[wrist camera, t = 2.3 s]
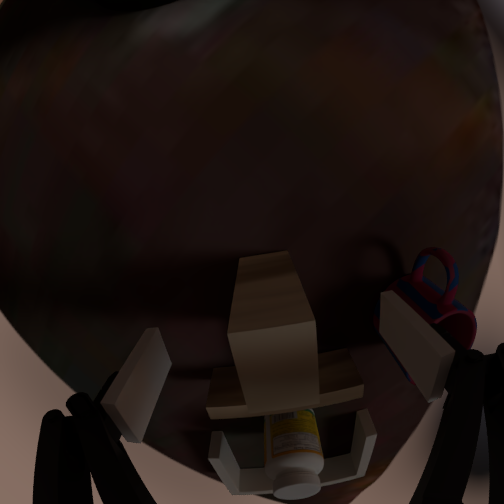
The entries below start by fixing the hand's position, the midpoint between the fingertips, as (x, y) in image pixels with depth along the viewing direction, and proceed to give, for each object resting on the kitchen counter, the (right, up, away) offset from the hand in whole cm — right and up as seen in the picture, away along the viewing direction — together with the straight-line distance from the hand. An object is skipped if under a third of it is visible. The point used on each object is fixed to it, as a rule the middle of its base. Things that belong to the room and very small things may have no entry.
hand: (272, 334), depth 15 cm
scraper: (+1, -1, +7) cm, 7 cm away
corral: (+4, -19, +12) cm, 22 cm away
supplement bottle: (+3, -13, +10) cm, 16 cm away
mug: (+12, +1, +6) cm, 14 cm away
